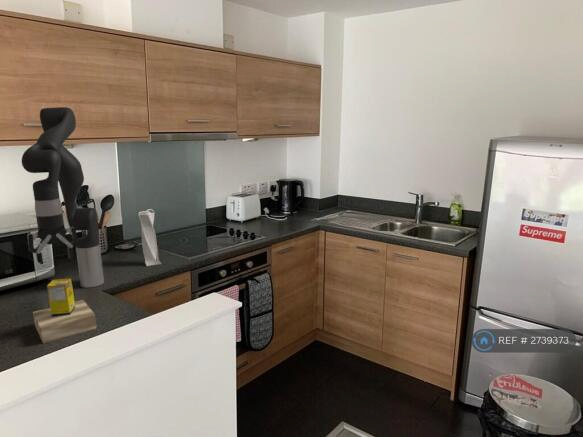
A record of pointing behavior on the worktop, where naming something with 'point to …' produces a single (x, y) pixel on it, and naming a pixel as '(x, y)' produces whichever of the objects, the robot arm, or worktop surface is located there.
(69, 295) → the supplement box
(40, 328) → the oak support block
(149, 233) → the skyscraper
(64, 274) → the worktop surface
